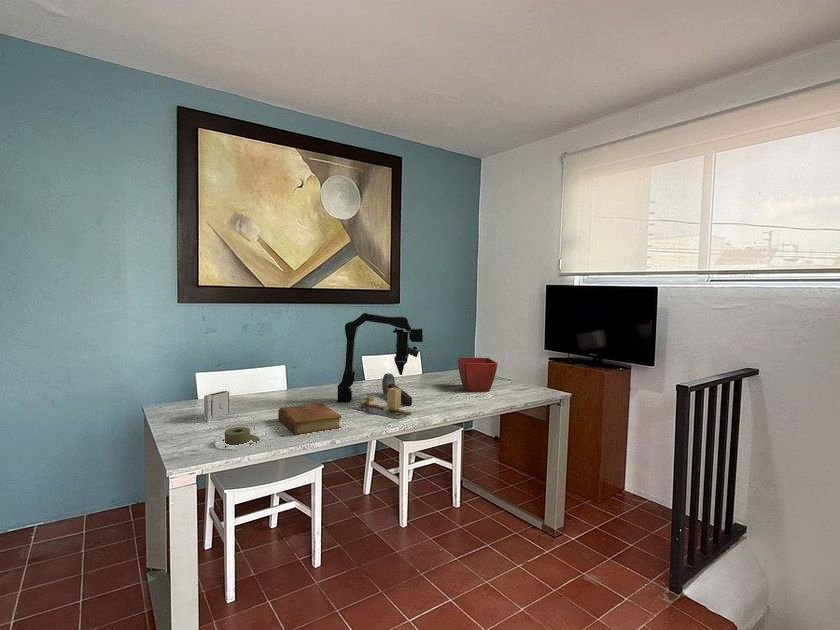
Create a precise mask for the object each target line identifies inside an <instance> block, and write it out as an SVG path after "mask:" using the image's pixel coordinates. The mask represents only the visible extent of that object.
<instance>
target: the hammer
mask: <svg viewBox="0 0 840 630" xmlns="http://www.w3.org/2000/svg"><path fill="white" fill-rule="evenodd" d="M381 385H382V386H381V388H382V393H383V395H385V396H388V389H390V388H393V387H394V388H399V389H401V405H403V407H405V406H408V407H412V405H413V404H412V403H413V397H412V396H411V395H410V394H408V393H407V392H406V391H404V390H403V389H402V388H400V387H399V386H398V385H396V381H395V376H394V375H393V373H392V372H391V373H384V375H383V377H382V382H381Z"/></svg>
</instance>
